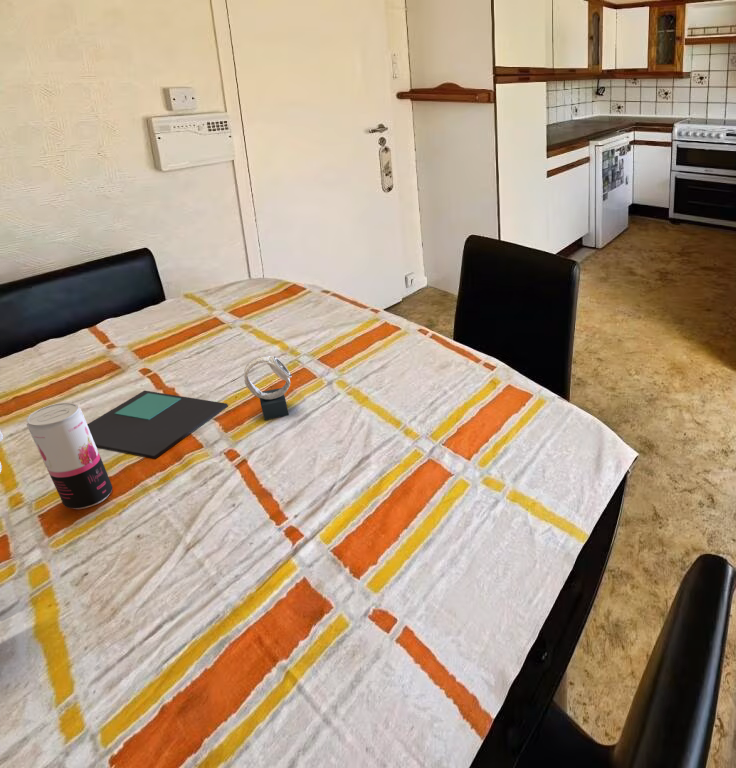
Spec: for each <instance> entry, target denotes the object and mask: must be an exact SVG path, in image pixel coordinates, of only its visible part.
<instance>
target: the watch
mask: <svg viewBox="0 0 736 768" xmlns="http://www.w3.org/2000/svg"><path fill="white" fill-rule="evenodd" d="M262 363H263V364H264V363H266V365H268V366H269V367H270V369H271V371H273V373H274V374H275V375H276V376H277V377H278V378H280V379H281V380H283V381H285V383H284V384H283V386H282V387H279V388H274V389H268V390H264V391H261V389H260V388H258V387H257V386H256V385H255V384H253V382H252V381H251V379H250V378H249V376H248V375H249V373H250V371H251V369H253V368H254V367H255V366H256V365H260V364H262ZM243 377H244V385H245V386H246V388H247V389H248V390H249V391H250V392H251V394H253V395H254V397H256V398H258V399H259V402H260V407H261V412H262V416H263V420H264V421H269V420H273V419H277V418H283V417H287V416H290V413H289V410H288V403H287V400H286V399H287V398H286V395H285V394H286V393H287V392H288V390H289V388H290V386H291V378H292V373H291V371H290V370H289V369H288V367H287V365H285V364H284V362H282V360H280V359H279V358H278V357H277V356H276V355H273V356H270V355H260V356H257V357H255V358H253V359H252V360H251V359H250V361H249V362H248V363H247V364H246V366H245V368H244V372H243Z"/></svg>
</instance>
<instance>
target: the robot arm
mask: <svg viewBox="0 0 736 768" xmlns="http://www.w3.org/2000/svg"><path fill="white" fill-rule="evenodd" d="M3 439H4V435H3V433H2V431H1V430H0V442H2V441H3ZM2 469H3V465H2V462H0V474H2V473H1V472H2Z"/></svg>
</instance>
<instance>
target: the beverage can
mask: <svg viewBox="0 0 736 768" xmlns="http://www.w3.org/2000/svg"><path fill="white" fill-rule="evenodd" d="M87 424H88V423H87V420H86V418H85V416H84V413H83V410H82V409H81V408H80V407H79V405H78V404H77V403H74V402H70V401H69V402H66V401H65V402H57V403H53V404H49V405H45V406H44V407H43V406H42V407H40V408H38V409H37V410H34V411H33V412H32V413H30V414H29V415H28V416H27V417H26V427H27V429H28V431H29V434H30V435H31V438H32V439H33V443H34V444H35V446H36V449H37V451H38V452H39V456H40V457H41V459H42V461H43V463H44V465H45V468H46V470H47V472H48V474H49V476H50V478H51V481H52V483H53V485H54V487H55V489H56V492H57V494H58V497H59V498H60V500H61V502H62V504H63V506H64V507H66V508H68V509H73V510H82V509H88V508H91V507H94V506H96V505H98V504H100V503H102V502H103V501H105V500H106V499H107V498H108V497H109V495H110V494H111V493H112V492H113V484H112V482H111V480H110V476H109V473H108V472H107V470H106V467H105V464H104V463H103V460H102V457H101V455H100V452H99V450H98V447H96V445H95V442H94V440H93V437H92V435H91V433H90V430H89V428H88V425H87Z"/></svg>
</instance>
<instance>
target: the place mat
mask: <svg viewBox="0 0 736 768" xmlns="http://www.w3.org/2000/svg"><path fill="white" fill-rule="evenodd" d="M148 393H150V394H157V395H163V396H169V397H175V398H181V400H179V401H178V402H176V403H175V404H173V405H171V406H170V407H168V408H167V409H165V410H164V411H162V412H161V413H159V414H158V415H156V416H154V417H153V418H151V419H150V420H145V419H140V418H134V417H128V416H122V415H117V414H115V413H116V412H118V411H119V410H121V409H123V408H124V407H126V406H128V405H129V404H131V403H133V402H134V401H136V400H138V399H139V398H141V397H143V396H144V395H146V394H148ZM227 407H229V404H228V403H227V402H226V403H225V402H219V401H212V400H207V399H201V398H195V397H188V396H182V395H176V394H170V393H162V392H157V391H150V390H143V391H141V392H140V393H138V394H136V395H134V396H133V397H131V398H129V399H127V400H126V401H124V402H122V403H121V404H119V405H117V406H116V407H114V408H113V409H111V410H109V411H107V412H105V413H104V414H102V415H101V416H98V417H97V418H95V419H94V420H92V421H91V422H89V423H87V425H88V428H89V430H90V433H91V435H92V437H93V440H94V442H95V445H96V447H97V449H103V450H109V451H113V452H119V453H124V454H129V455H133V456H139V457H145V458H150V459H154V460H155V459H157V458H158V457H160V456H162V454H164V453H165V452H167V451H168V450H169V449H171V448H173V446H175V445H176V444H178V443H179V442H181V441H182V440H184V439H185V438H186V437H188V436H189V435H191V433H193V432H194V431H196V430H197V429H198V428H200V427H201V426H202V425H204V424H205V423H207V422H208V421H210V420H211V419H212V418H214V417H215V416H217V415H218V414H219V413H221V412H222V411H223V410H225V409H226V408H227Z"/></svg>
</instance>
